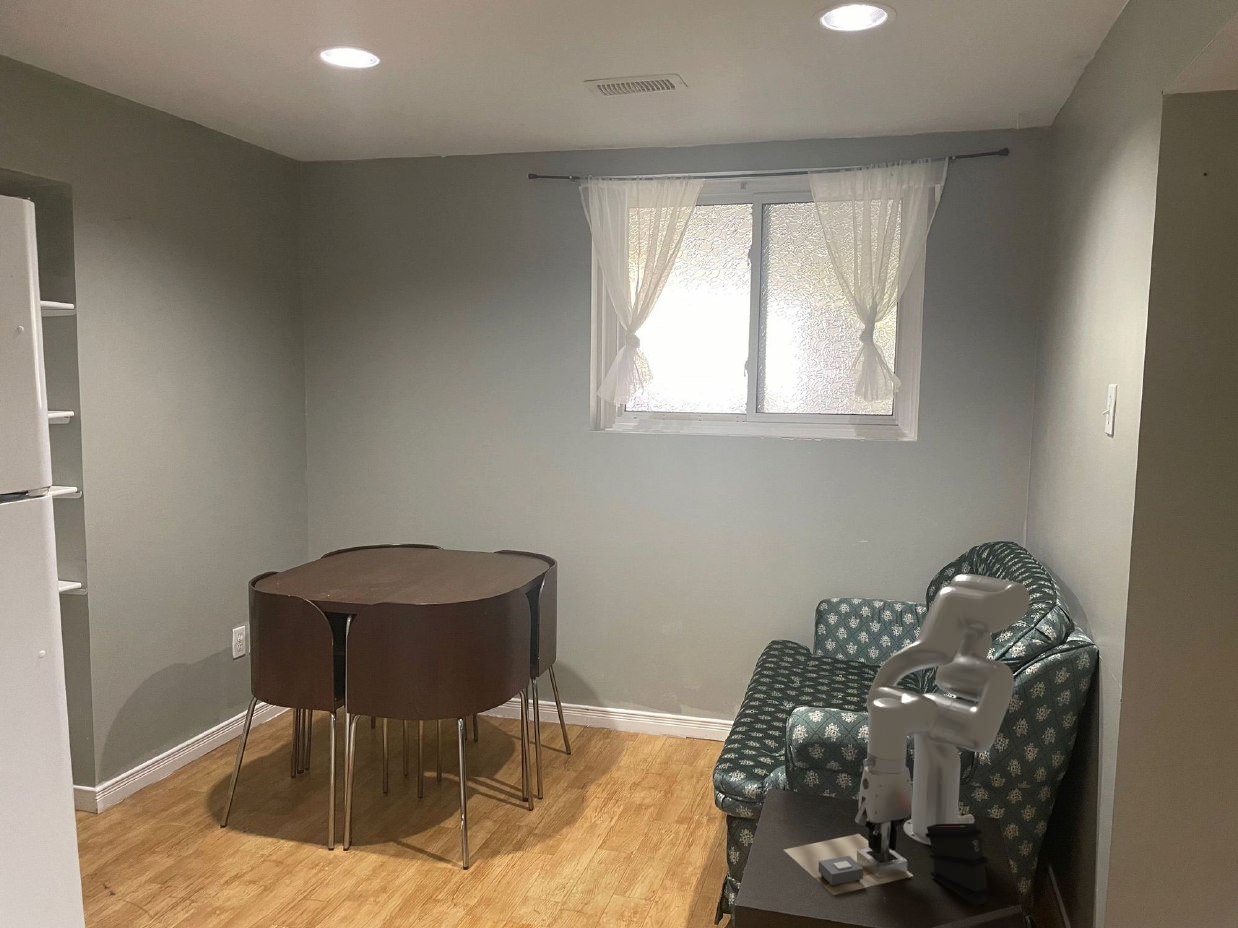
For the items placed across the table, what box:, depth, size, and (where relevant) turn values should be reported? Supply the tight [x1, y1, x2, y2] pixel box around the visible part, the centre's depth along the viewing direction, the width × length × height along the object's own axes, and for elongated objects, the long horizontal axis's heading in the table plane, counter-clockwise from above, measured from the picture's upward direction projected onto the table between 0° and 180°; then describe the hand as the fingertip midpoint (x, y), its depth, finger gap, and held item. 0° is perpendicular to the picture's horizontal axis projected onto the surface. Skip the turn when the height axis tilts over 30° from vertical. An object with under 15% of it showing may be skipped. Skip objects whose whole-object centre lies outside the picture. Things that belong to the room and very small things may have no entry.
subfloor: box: [783, 833, 914, 896], centre depth 193 cm, size 19×18×1 cm
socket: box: [857, 848, 908, 879], centre depth 191 cm, size 7×7×2 cm
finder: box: [818, 856, 863, 887], centre depth 187 cm, size 7×5×3 cm
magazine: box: [925, 822, 991, 906], centre depth 184 cm, size 4×13×15 cm, turn 27°
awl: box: [874, 821, 891, 862], centre depth 191 cm, size 4×4×13 cm
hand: (881, 847), depth 191 cm, fingers closed on awl, 3 cm apart
